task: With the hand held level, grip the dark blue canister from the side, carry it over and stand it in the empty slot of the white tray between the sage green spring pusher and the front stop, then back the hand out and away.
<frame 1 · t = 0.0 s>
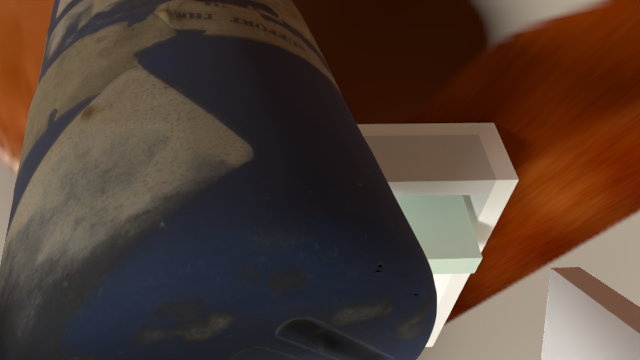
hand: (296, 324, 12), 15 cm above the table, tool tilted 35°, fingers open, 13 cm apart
white tray: (343, 233, 36), on the table
pusher: (357, 224, 28), point 4 cm above the table, slide at 0.0 cm
dark blue canister: (178, 16, 21), point 1 cm above the table, touching gripper
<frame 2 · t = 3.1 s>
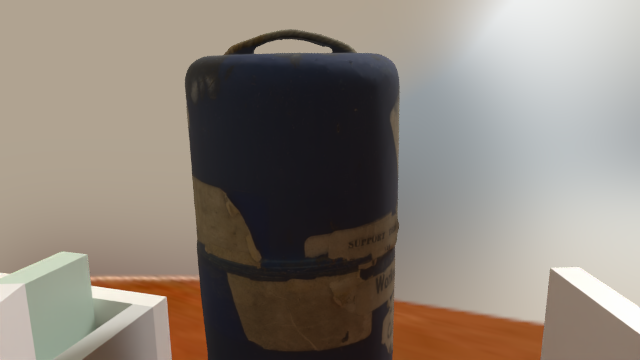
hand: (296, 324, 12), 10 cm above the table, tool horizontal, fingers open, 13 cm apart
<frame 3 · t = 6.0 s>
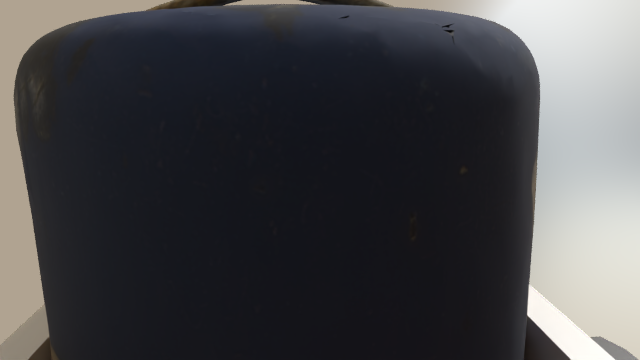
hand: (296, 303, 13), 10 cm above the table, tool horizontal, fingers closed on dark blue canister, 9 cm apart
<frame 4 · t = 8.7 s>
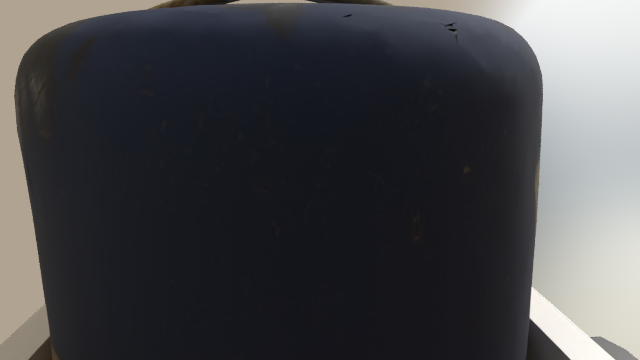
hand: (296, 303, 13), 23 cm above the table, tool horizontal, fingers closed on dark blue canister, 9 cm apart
when the fingers open (12 cm above the table, at t = 11.5 s): dark blue canister moves 1 cm, resting on white tray.
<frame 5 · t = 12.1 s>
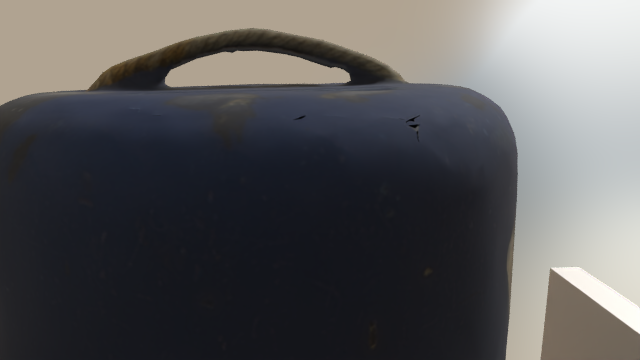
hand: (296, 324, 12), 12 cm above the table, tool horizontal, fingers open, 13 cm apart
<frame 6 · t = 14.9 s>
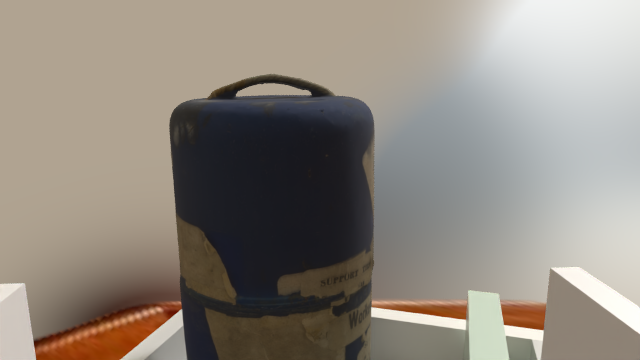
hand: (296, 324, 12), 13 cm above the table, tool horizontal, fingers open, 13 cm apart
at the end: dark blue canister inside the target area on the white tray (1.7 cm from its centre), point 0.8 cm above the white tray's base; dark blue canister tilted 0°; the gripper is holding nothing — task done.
